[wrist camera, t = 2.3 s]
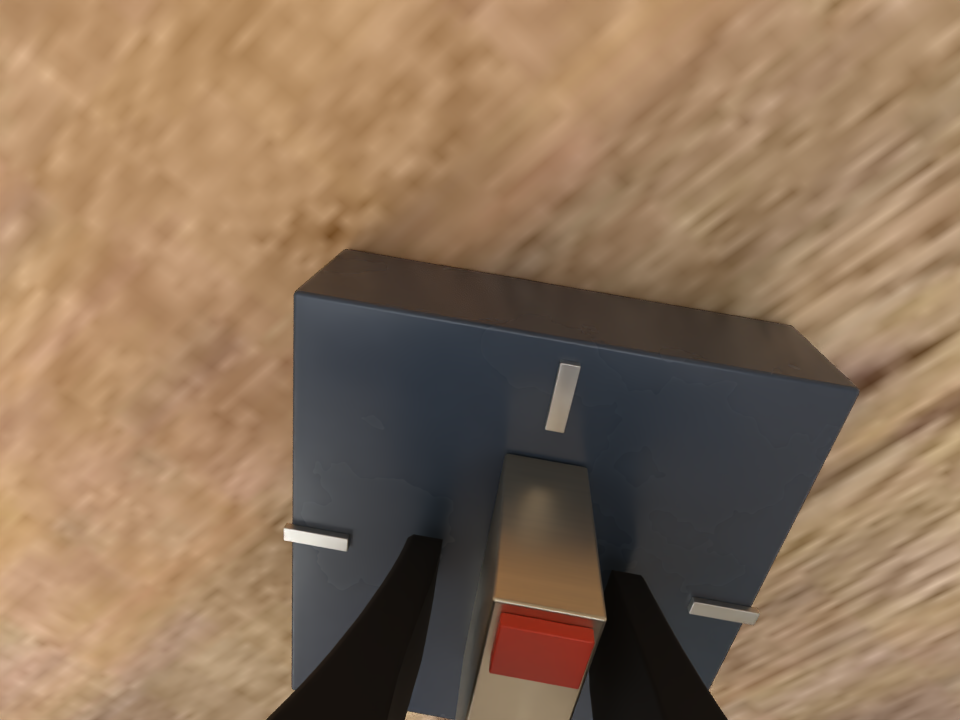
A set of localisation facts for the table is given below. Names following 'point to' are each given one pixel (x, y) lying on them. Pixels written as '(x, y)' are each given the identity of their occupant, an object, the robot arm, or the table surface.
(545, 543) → the silver block
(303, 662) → the panel
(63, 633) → the table surface
